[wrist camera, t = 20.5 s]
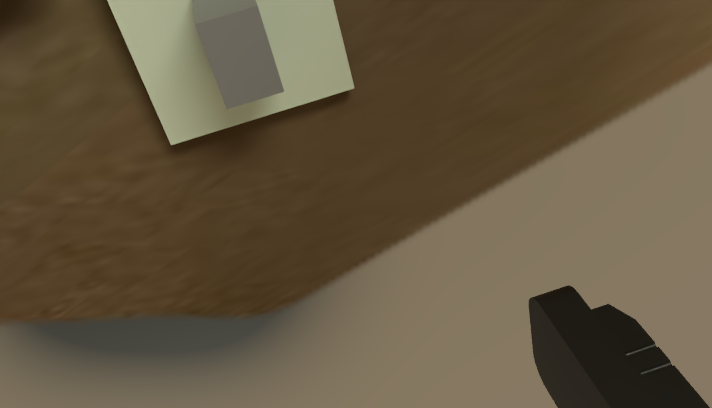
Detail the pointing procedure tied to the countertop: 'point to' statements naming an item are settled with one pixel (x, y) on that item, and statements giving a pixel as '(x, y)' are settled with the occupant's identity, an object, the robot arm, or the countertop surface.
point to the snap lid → (232, 58)
